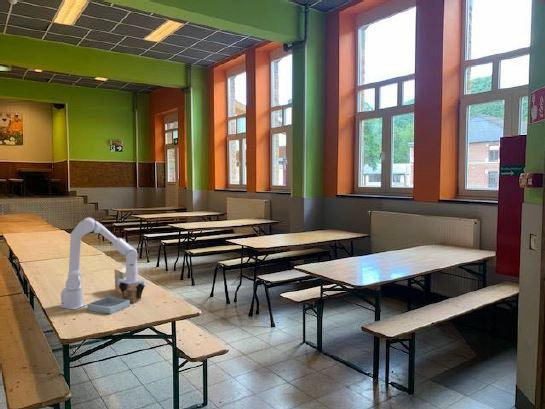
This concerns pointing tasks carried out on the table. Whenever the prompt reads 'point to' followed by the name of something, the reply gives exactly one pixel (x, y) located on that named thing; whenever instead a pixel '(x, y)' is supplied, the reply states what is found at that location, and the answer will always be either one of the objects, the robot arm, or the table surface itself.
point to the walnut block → (131, 295)
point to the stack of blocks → (121, 274)
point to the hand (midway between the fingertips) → (132, 298)
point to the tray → (108, 305)
